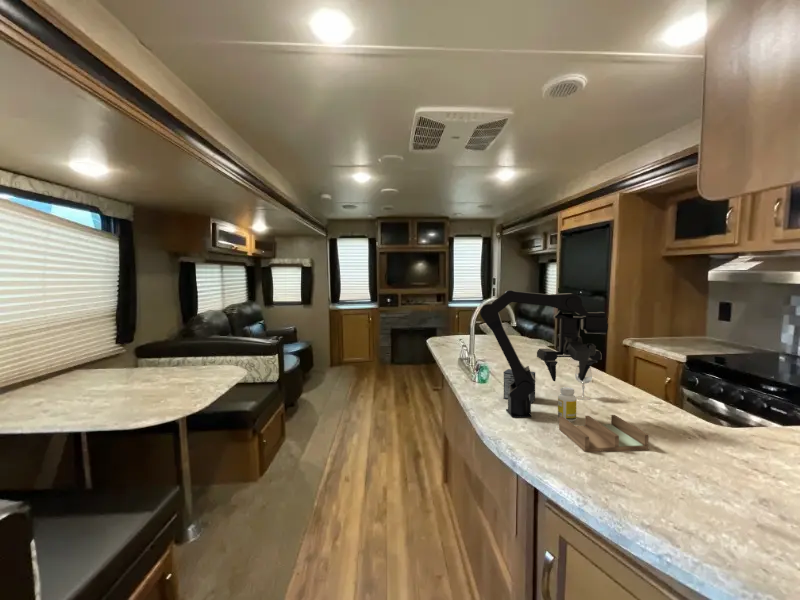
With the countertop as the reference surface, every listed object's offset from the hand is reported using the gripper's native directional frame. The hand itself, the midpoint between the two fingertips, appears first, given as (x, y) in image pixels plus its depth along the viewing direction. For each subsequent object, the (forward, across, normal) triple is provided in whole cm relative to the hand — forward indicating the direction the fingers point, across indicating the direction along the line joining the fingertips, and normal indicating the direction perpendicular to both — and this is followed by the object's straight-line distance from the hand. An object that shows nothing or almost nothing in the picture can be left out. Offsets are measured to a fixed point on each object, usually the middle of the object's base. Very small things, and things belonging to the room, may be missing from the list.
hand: (567, 380), depth 115 cm
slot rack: (+12, +1, -15) cm, 20 cm away
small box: (+13, -8, +20) cm, 25 cm away
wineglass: (+12, +16, +18) cm, 27 cm away
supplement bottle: (+13, 0, 0) cm, 13 cm away
